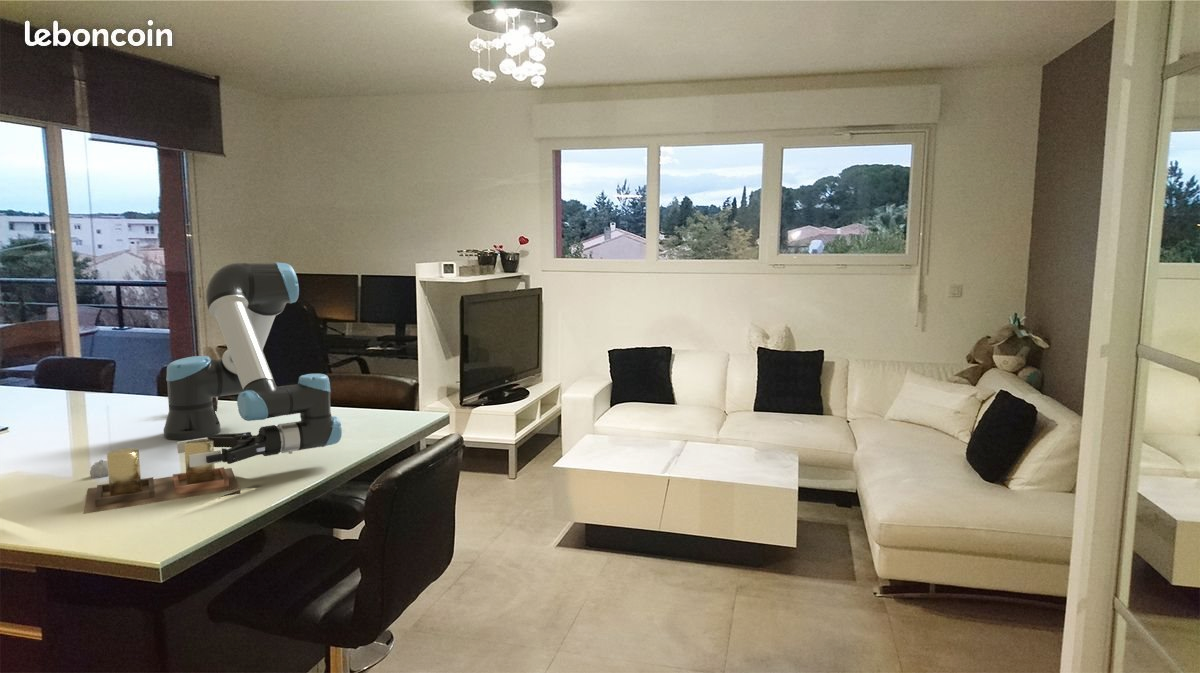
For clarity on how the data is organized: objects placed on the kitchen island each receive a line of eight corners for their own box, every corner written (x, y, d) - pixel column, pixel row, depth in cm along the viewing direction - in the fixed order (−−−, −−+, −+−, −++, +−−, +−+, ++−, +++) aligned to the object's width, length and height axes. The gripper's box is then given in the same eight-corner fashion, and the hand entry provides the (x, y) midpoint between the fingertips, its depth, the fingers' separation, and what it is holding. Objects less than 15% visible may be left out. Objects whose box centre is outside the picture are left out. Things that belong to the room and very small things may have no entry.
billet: (104, 496, 160) (100, 453, 159) (131, 488, 166) (128, 447, 164) (120, 500, 158) (117, 457, 156) (147, 492, 163) (144, 450, 162)
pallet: (83, 519, 150) (82, 506, 150) (88, 493, 165) (87, 482, 165) (240, 493, 167) (239, 482, 166) (231, 472, 182) (231, 462, 181)
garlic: (103, 483, 172) (101, 463, 171) (84, 482, 173) (82, 461, 172) (123, 475, 178) (122, 455, 177) (105, 474, 179) (103, 454, 178)
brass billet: (181, 484, 168) (178, 444, 167) (204, 477, 174) (202, 438, 173) (197, 488, 166) (195, 447, 165) (220, 481, 171) (218, 441, 170)
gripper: (294, 465, 171) (195, 483, 158) (264, 442, 190) (174, 456, 177) (292, 435, 170) (193, 451, 157) (263, 415, 189) (172, 427, 176)
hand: (183, 454), depth 167 cm, fingers open, 13 cm apart
